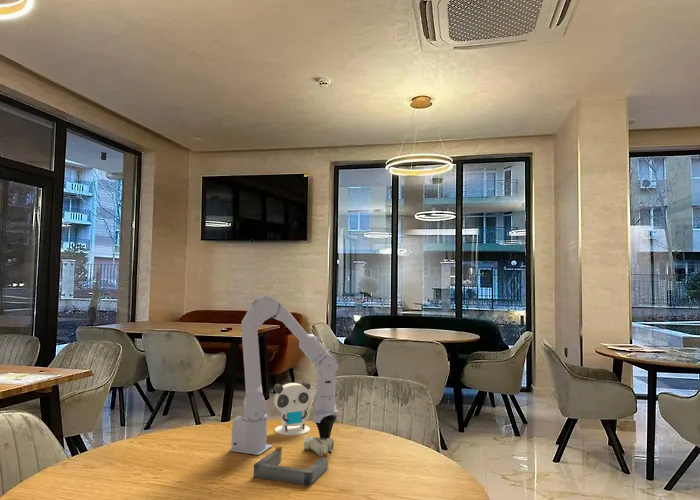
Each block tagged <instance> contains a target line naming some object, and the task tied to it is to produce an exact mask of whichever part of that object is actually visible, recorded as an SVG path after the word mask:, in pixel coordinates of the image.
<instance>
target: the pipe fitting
mask: <svg viewBox="0 0 700 500" xmlns="http://www.w3.org/2000/svg"><path fill="white" fill-rule="evenodd" d="M303 448H304V450H309V451H312V452H314V454H317V456H319V457H322V453H323V452H327V453H333V452H334V448H335V440H334V438H331V437H330V438H327V439H325V438H320V437H312V436H308V435H306V436H305V437H304V441H303Z"/></svg>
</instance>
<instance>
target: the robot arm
mask: <svg viewBox="0 0 700 500" xmlns="http://www.w3.org/2000/svg"><path fill="white" fill-rule="evenodd" d="M271 318H272V319H275V320H276V321H280V322H282V324H283V325H285V327H287V328H288V330H289V331H290V332H291V333H292V334H293V335H294V336H295V338H297V340H298V343H299V344H298V347H299V349H300V350H301V351H302V352H303V353H304V355H305V356H306V357H307V358H308V360H310V362H311V363H313V364H314V366H315V369H317V370H316V373H317V374H316V386H315V387H316V388H315V389H316V392H315V393H316V394H315V410H314V414H313V415H312V423H315V424H316V427H317V430H318V434H319V438H325V439H327V438H331V435H332V429H333V426H334V423H335V421H336V419H337V415H338V414H339V413H340V411H339V410H338V406H337V404H336V388H337V387H336V383H337V382H336V372H337V371H338V368H339V364H338V361H337V359H336V358H335V357H334V356H333V355H331V353H330V352H331V350H330V349H329V348H326V347H325V345H324V344H323V343H322V342H321V341H320V340H321V338H320V336H318V335H315V334H314V333H308V332H306V330H305V329H304V327H303V326H301V324H300V323H299V322H298V321H297V318H295V317H294V316H293V315H292V313H291V312H290V310H288V308H286V307H285V306H284V305H283V304H282V303H280V302H279V301H278V300H277V299H276V298H275V296H272V295H269V294H262V295H260V296H258V297H257V298H256V299H255V300H253V302H252V303H251V304H250V306H249V308H248V310H247V311H246V314H245V315H244V317H243V318H242V320H241V325H240V326H241V328H240V329H241V339H242V354H243V356H242V357H243V369H244V383H245V386H244V387H245V395H244V397H243V400H242V401H243V402H242V404H243V408H244V410H243V411H244V412H243V414H241V415H239V416H238V415H237V416H236V417H235V419H233V423H232V427H231V447H230V449H229V452H234V453H242V454H248V455H256V456H259V455H262V454H263V453H265V452H267V451H268V450H270V448H272V447H273V445H272V444H268V443H267V438H268V437H267V435H268V434H267V432H268V414H267V411H268V404H267V402H266V400H265V396H264V394H263V393H264V392H263V386H262V373H261V359H260V347H259V346H260V345H259V335H258V334H259V331H258V329H259V328H260V327H261V326H262V325H263V323H264V322H265V321H267V320H269V319H271Z"/></svg>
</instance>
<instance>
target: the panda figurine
mask: <svg viewBox="0 0 700 500" xmlns="http://www.w3.org/2000/svg"><path fill="white" fill-rule="evenodd" d="M310 389H311V384H310V383H309V382H307V381H302V382H301V384H300V383H297V382H289V383H285V384H283V385H281V384H280V383H276V384H274V385H273V392H274V393H275V394H274V399H273V404H274V406H275V408H276V409H277V410H278V411H279V412H281V413H280V415H281V425H279V426H278V425H277V427H274V428H275V429H274V432H275V433H276V434H278V435H281V436H301V435H305V434H307V433H309V432H310V431H311V428H310V427H309V426H307V425H305V424H306V423H305V418H306V417H307V414H308V413H307V411H306V410H307V408H308V407H309V405H310V401H311V398H310V397H311V395H310V393H309V390H310Z"/></svg>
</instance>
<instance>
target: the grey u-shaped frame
mask: <svg viewBox="0 0 700 500" xmlns="http://www.w3.org/2000/svg"><path fill="white" fill-rule="evenodd" d="M282 450H283V447H282V446H281V445H276V446H275V450H273V451H271V452H270V453H268V454H267V455H266V456H264V457H263V458H261V459H260V460H258V461H257V462H255V463H254V464H253V478H257V479H264V480H270V481H276V482H281V483H282V482H283V483H289V484H295V485H302V486H308V487H310V486H312V485H313V483H315V482H316V481H317V480H318V479H319V478H320V477H321V476H322V475H323V474H324V473H325V472H326V471H327V470H329V465H330V463H329V459H330V452H328V451H327V452H323V453H322V456H320V457H319V458H318V459H317V460H316V461H315V462H314V463H313V464H312V465H310V466H309V467H308V468H307V469H304V468H297V467H290V466H283V465H278V464H280V463H281V462H282V459H283V458H282V457H283V453H282V452H283V451H282Z"/></svg>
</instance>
